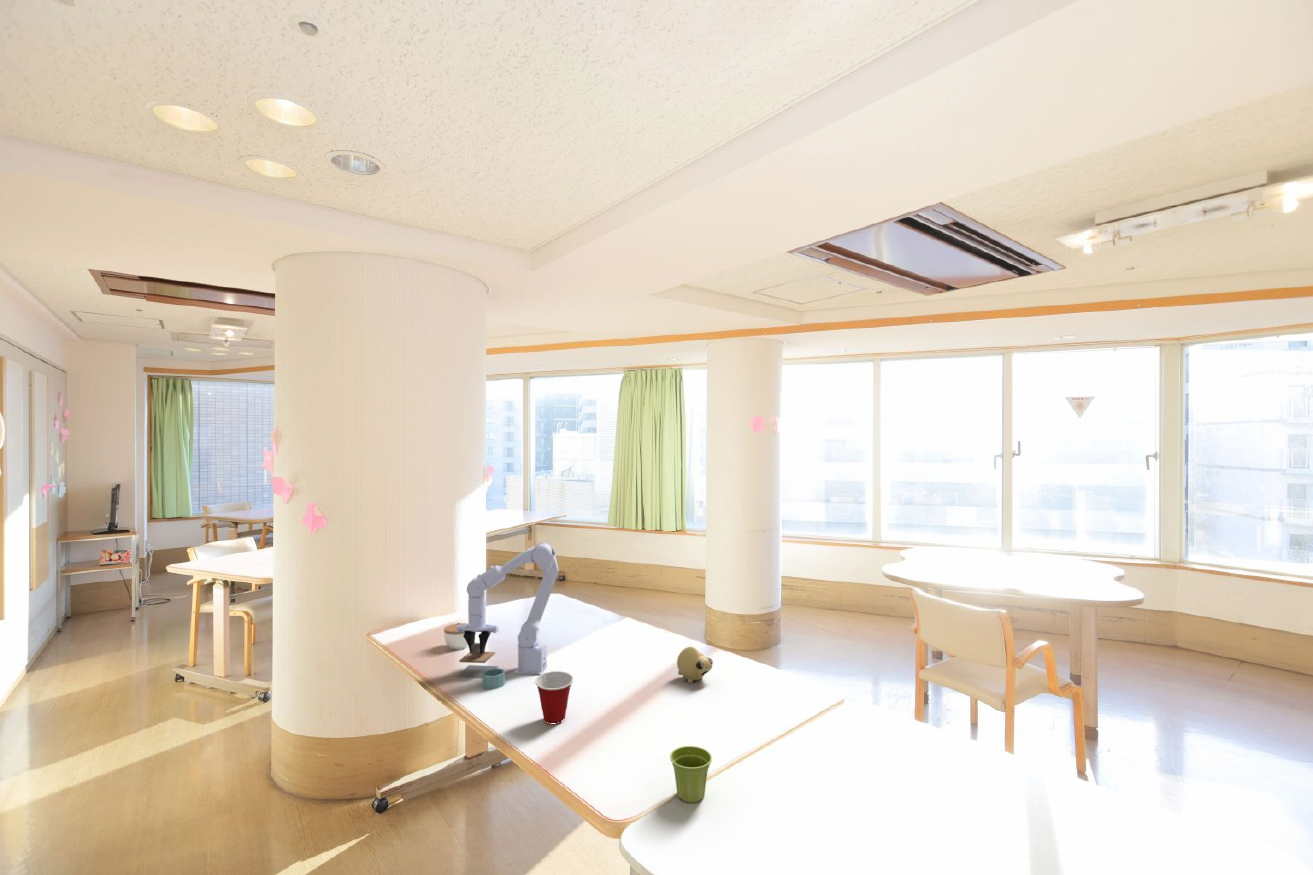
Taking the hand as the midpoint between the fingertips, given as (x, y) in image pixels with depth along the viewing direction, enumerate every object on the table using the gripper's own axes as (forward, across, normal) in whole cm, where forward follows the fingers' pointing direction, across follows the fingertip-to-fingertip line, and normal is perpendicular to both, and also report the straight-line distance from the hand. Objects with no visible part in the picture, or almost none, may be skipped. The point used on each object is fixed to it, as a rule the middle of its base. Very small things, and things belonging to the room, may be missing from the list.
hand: (477, 652), depth 208 cm
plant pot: (+7, -78, +64) cm, 101 cm away
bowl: (+7, -10, +10) cm, 16 cm away
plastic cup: (+7, -37, +32) cm, 49 cm away
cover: (+2, 0, 0) cm, 2 cm away
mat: (+7, 0, 0) cm, 7 cm away
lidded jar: (+7, +18, -24) cm, 31 cm away
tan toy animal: (+7, -75, -1) cm, 75 cm away
